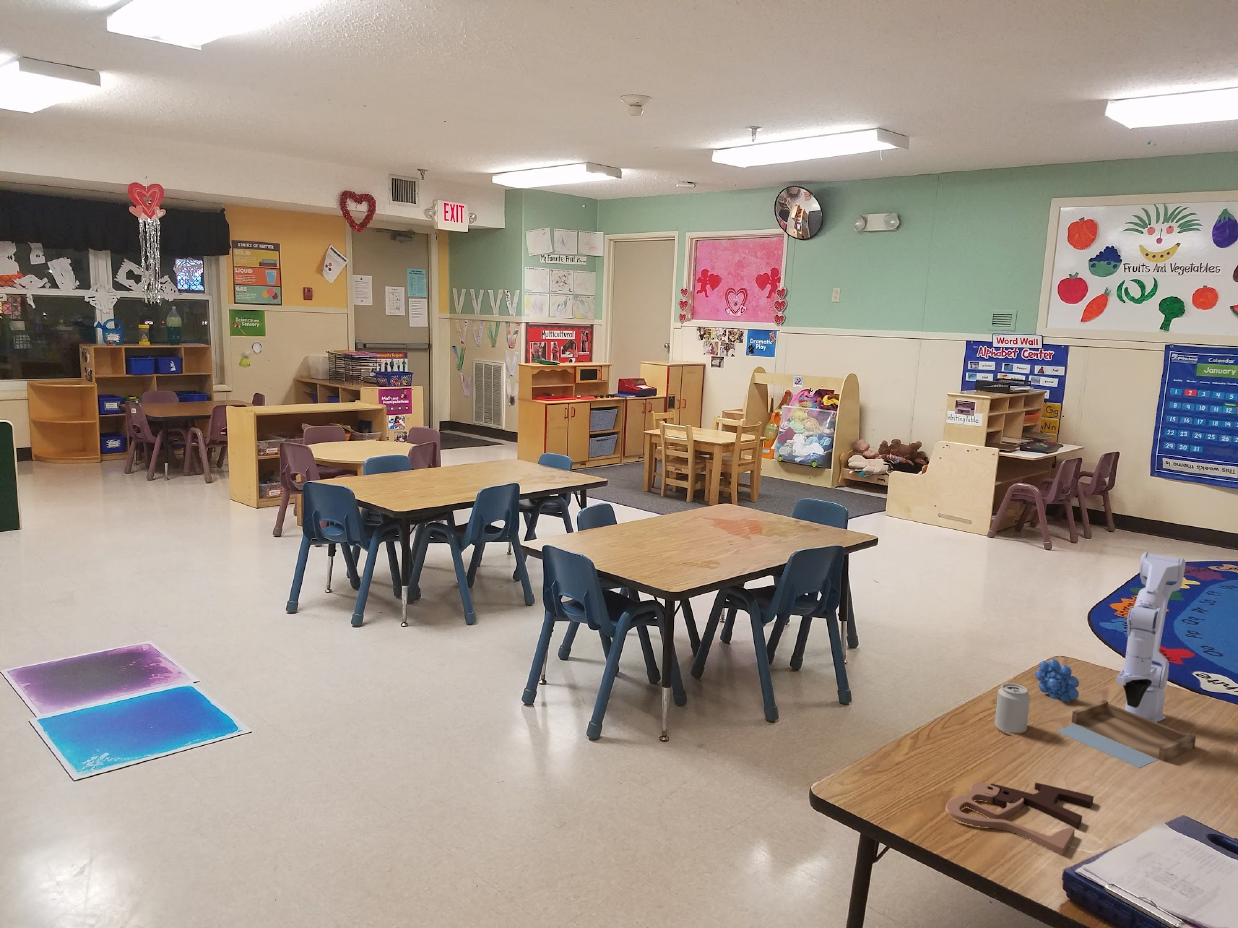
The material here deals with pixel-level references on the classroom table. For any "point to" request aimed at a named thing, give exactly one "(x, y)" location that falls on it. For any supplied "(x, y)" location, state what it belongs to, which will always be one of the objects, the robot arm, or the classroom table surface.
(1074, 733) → the panel
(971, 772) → the classroom table surface
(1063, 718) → the classroom table surface
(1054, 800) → the wood carving
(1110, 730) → the tray
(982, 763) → the classroom table surface
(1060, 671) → the grapes
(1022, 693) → the can
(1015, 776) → the classroom table surface
